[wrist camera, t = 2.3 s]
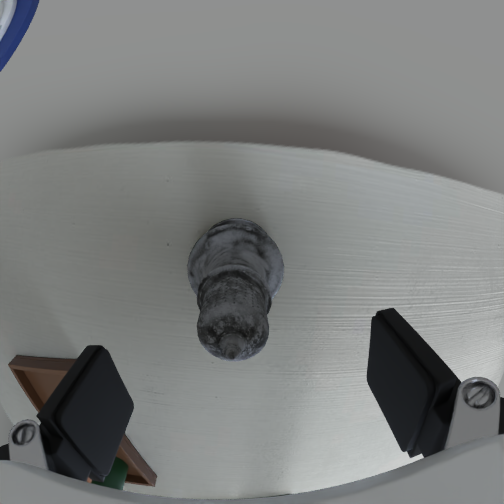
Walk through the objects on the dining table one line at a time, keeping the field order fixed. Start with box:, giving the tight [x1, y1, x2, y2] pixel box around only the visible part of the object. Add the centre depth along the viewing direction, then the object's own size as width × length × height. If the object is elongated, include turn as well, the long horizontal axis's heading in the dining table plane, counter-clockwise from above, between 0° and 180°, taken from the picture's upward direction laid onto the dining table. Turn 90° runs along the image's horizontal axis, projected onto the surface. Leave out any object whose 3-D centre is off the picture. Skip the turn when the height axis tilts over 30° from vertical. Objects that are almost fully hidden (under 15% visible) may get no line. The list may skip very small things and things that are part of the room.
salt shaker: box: [187, 219, 284, 361], centre depth 15 cm, size 6×6×12 cm
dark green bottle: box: [91, 457, 129, 490], centre depth 22 cm, size 5×5×13 cm
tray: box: [8, 355, 157, 487], centre depth 26 cm, size 23×11×2 cm, turn 9°
